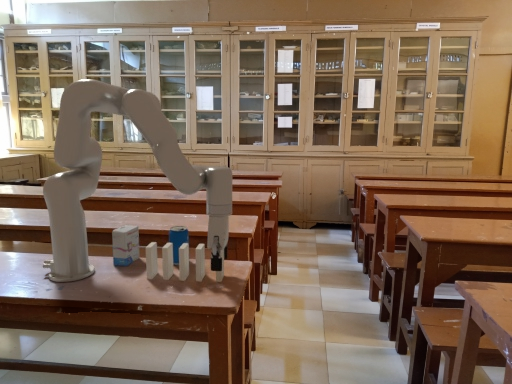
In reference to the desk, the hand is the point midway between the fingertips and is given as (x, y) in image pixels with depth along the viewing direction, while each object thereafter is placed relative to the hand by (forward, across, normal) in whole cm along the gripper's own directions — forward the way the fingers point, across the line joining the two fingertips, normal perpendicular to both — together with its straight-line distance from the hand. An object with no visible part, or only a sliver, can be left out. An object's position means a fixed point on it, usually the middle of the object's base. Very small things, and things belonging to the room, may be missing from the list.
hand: (219, 264), depth 105 cm
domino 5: (+4, 0, 0) cm, 5 cm away
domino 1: (+5, 0, -21) cm, 21 cm away
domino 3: (+5, 0, -11) cm, 12 cm away
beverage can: (+5, -12, -16) cm, 20 cm away
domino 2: (+5, 0, -16) cm, 16 cm away
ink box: (+5, -11, -34) cm, 36 cm away
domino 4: (+5, 0, -6) cm, 7 cm away
